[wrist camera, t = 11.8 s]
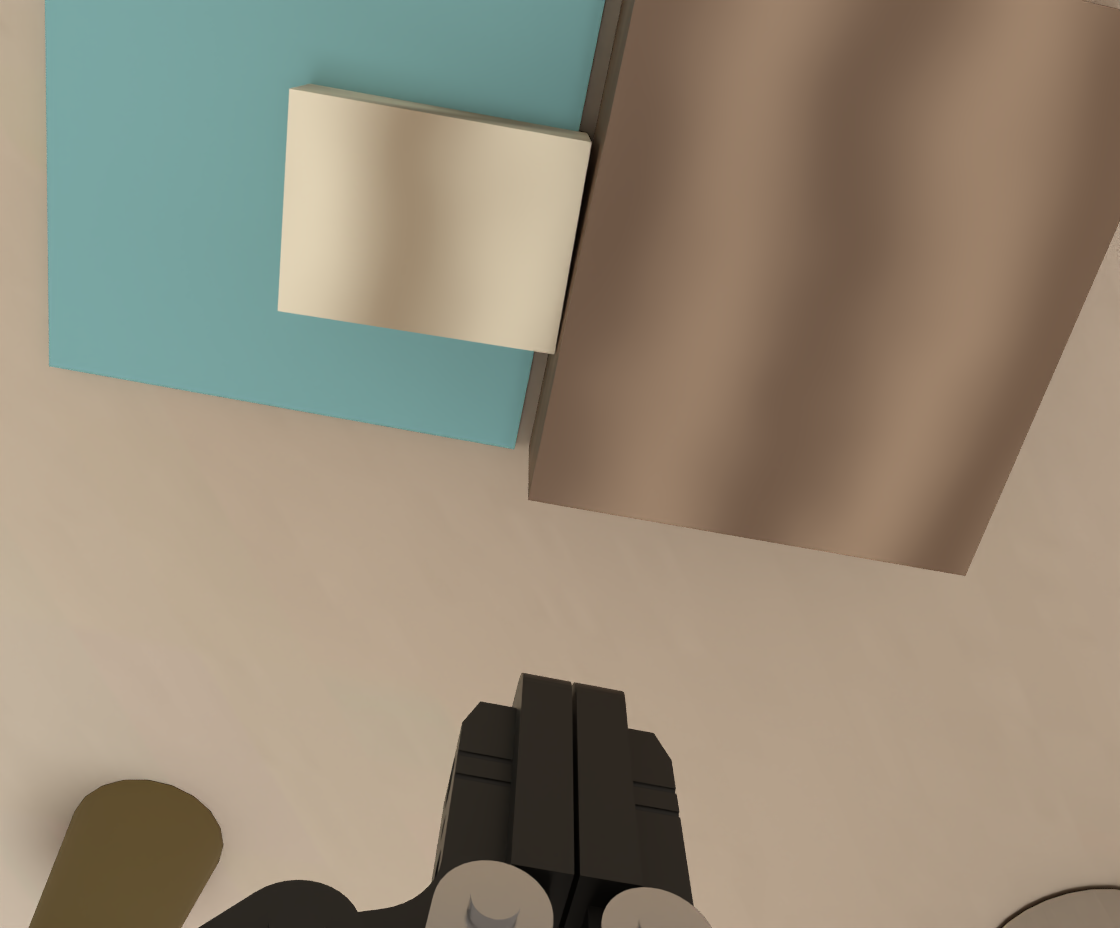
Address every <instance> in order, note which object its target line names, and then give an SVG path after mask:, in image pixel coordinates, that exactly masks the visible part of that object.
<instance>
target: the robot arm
mask: <svg viewBox="0 0 1120 928" xmlns="http://www.w3.org/2000/svg"><path fill="white" fill-rule="evenodd" d="M675 789H676V787H675V781H674V774H673V767H672V761H671V759H670V757H669V756H668V754H667V753H666V751H665V750H664V748H663V747H662V745H661V744H660V742H659V741H658V739H657V738H656V736H655V734H654V733H650V732H645V731H639V730H634V729H628V725H627V714H626V704H625V695H624V692H623V691H618V690H612V689H607V688H602V687H596V686H591V685H586V684H580V683H575V682H574V683H573V685H572V684H571V682H569V681H563V680H558V679H553V678H547V677H542V676H537V675H531V674H526V673H522V674H521V676H520V679H519V682H518V686H517V690H516V694H515V698H514V702H513V706H512V707H508V706H502V705H497V704H491V703H486V702H480V703H479V704H478V705H477V706H476V707H475V708H474V710H473V711H472V712H471V713H470V714H469V715H468V717H467V718H466V719H465V720H464V721H463V722H462V726H461V731H460V735H459V740H458V744H457V749H456V753H455V758H454V762H453V766H452V771H451V775H450V780H449V784H448V789H447V793H446V797H445V802H444V807H443V814H442V820H441V826H440V832H439V833H440V834H439V839H438V845H437V851H436V859H435V864H434V870H433V877H432V883H431V884H430V885H429V886H428V887H427V888H426V889H425V890H424V891H423V892H422V893H421V894H419V895H418V896H416V897H415V898H413V899H411V900H409V901H407V902H405V903H403V904H400V905H397V906H394V907H390V908H385V909H378V910H371V911H363V912H357V910H356V908H355V907H354V905H353V904H352V903H351V902H350V901H349V899H348V898H347V897H345V896H344V895H343V894H342V893H340V892H339V891H337V890H335V889H334V888H332V887H330V886H327V885H324V884H322V883H318V882H313V881H307V880H291V881H284V882H279V883H275V884H272V885H269V886H266V887H264V888H262V889H260V890H259V891H257V892H255V893H253V894H252V895H250V896H248V897H247V898H245V899H244V900H242V901H240V902H239V903H237V904H236V905H234V906H232V907H231V908H229V909H228V910H226V911H224V912H223V913H221V914H220V915H218V916H216V917H215V918H213V919H212V920H210V921H208V922H207V923H205V924H204V925H202V926H201V927H199V928H712V927H711V926H710V924H709V923H708V921H707V920H706V919H705V917H704V916H703V915H702V914H701V913H700V912H699V911H698V910H697V909H696V908H695V907H694V905H693V899H692V893H691V886H690V880H689V873H688V866H687V860H686V853H685V847H684V840H683V833H682V827H681V820H680V818H679V807H678V800H677V794H675ZM1003 928H1120V890H1116V889H1092V890H1086V891H1080V892H1074V893H1068V894H1065V895H1062V896H1059V897H1056V898H1052V899H1049V900H1046V901H1044V902H1042V903H1040V904H1038V905H1036V906H1034V907H1032V908H1030V909H1027V910H1026V911H1024V912H1023V913H1021V914H1020V915H1018V916H1017V917H1015V918H1014V919H1012V920H1011V921H1009V922H1008V923H1007V924H1006V925H1005V926H1004V927H1003Z"/></svg>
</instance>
